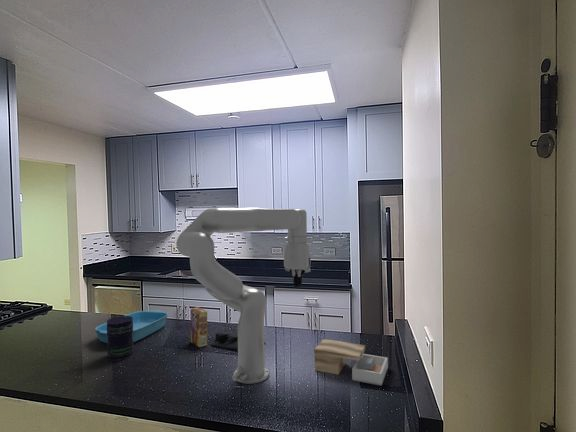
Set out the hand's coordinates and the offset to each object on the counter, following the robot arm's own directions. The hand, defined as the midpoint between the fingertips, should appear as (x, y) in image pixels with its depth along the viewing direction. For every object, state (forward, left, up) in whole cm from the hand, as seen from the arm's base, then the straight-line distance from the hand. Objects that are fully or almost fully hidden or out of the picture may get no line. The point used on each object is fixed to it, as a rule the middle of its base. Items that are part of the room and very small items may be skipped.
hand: (297, 286), depth 138 cm
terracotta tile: (-2, -30, -26) cm, 40 cm away
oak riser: (-2, -18, -29) cm, 34 cm away
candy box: (-3, +47, -29) cm, 55 cm away
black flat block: (+3, +30, -30) cm, 43 cm away
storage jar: (-26, +69, -29) cm, 79 cm away
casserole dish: (-5, +85, -30) cm, 90 cm away
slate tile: (-2, -27, -24) cm, 37 cm away
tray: (-2, -29, -29) cm, 41 cm away
